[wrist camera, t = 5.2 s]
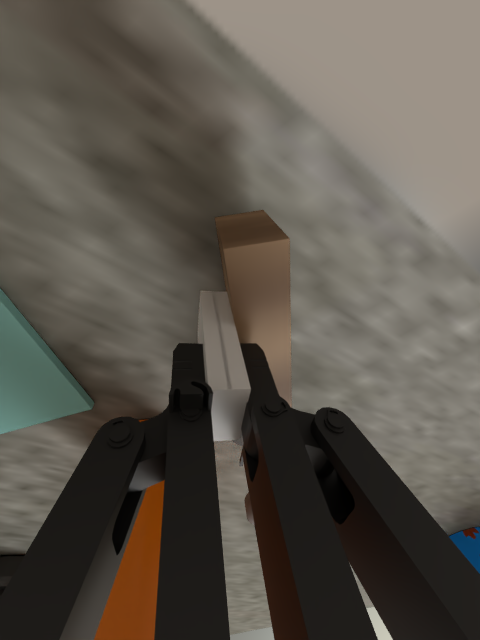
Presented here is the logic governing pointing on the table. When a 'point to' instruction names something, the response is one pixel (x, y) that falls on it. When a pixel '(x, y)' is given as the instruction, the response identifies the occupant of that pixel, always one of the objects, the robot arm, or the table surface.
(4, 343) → the mat
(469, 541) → the thermos
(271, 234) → the bar
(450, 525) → the table surface
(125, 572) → the shaker bottle
